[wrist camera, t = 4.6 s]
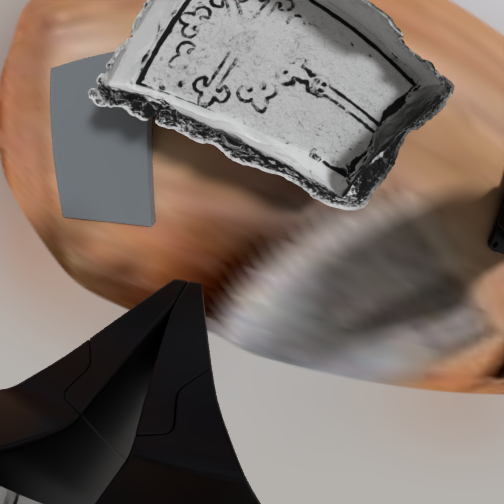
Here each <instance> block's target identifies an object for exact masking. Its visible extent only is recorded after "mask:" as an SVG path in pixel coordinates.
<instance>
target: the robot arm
mask: <svg viewBox="0 0 504 504" xmlns="http://www.w3.org/2000/svg"><path fill="white" fill-rule="evenodd" d="M494 242H495V243H494ZM488 247H489V248H490V249H491V250H492V251H495V252H499V253H503V254H504V200H503V203H502V206H501V209H500V212H499V215H498V218H497V220H496V223H495V225H494V228H493V231H492V233H491V235H490V238H489V240H488ZM0 504H261V503H260V502H259V500H258V499H257V497H256V495H255V493H254V492H253V490H252V488H251V486H250V485H249V483H248V481H247V479H246V477H245V475H244V472H243V470H242V468H241V465H240V463H239V461H238V458H237V456H236V453H235V451H234V448H233V445H232V442H231V440H230V437H229V434H228V431H227V429H226V426H225V423H224V420H223V417H222V414H221V411H220V407H219V404H218V401H217V396H216V391H215V386H214V379H213V373H212V366H211V359H210V351H209V343H208V335H207V326H206V317H205V308H204V298H203V288H202V284H201V283H199V282H192V281H190V282H187V281H185V280H179V279H174V280H172V281H171V282H169V283H168V284H167V285H165V286H164V287H162V288H161V289H159V290H158V291H156V292H155V293H154V294H152V295H151V296H149V297H148V298H146V299H145V300H144V301H142V302H141V303H139V304H138V305H136V306H135V307H134V308H132V309H131V310H129V311H128V312H127V313H125V314H124V315H122V316H121V317H120V318H118V319H117V320H115V321H114V322H112V323H111V324H110V325H108V326H107V327H105V328H104V329H103V330H101V331H100V332H99V333H97V334H96V335H94V336H93V337H92V338H90V340H87V341H86V342H85V343H83V344H82V345H81V346H79V347H78V348H76V349H75V350H73V351H72V352H70V353H69V354H68V355H66V356H65V357H63V358H61V359H60V360H58V361H57V362H55V363H53V364H52V365H50V366H48V367H47V368H45V369H44V370H42V371H40V372H38V373H37V374H35V375H33V376H31V377H30V378H28V379H26V380H25V381H23V382H21V383H19V384H18V385H16V386H13V387H11V388H7V389H2V390H0Z"/></svg>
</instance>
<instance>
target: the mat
mask: <svg viewBox="0 0 504 504" xmlns="http://www.w3.org/2000/svg"><path fill="white" fill-rule="evenodd" d="M114 53H115V52H111V53H106V54H101V55H97V56H93V57H89V58H85V59H81V60H77V61H74V62H70V63H67V64H64V65H60V66H57V67H54V68H51V76H50V114H51V133H52V145H53V155H54V164H55V172H56V179H57V185H58V191H59V197H60V203H61V208H62V213H63V217H68V218H78V219H87V220H96V221H106V222H115V223H124V224H133V225H142V226H150V227H152V226H153V224H154V223H155V222H156V220H155V207H154V190H153V167H152V117H150V118H149V119H148V120H147V121H142V120H140V119H139V118H137V117H136V116H132V115H130V114H129V113H128V112H127V110H125V109H124V108H122V107H112V108H110V107H108V106H106V107H100V106H97V105H96V104H94V102H93V100H92V99H90V98H89V94H88V91H89V90H90V89H91V88H97V87H98V84H97V81H96V79H97V78H98V76H99V75H100V74H101V73H104V74H105V73H106V71H107V68H106V64H107V63H108V61H109V60H110V59H111V58H112V57H113V54H114Z"/></svg>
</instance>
